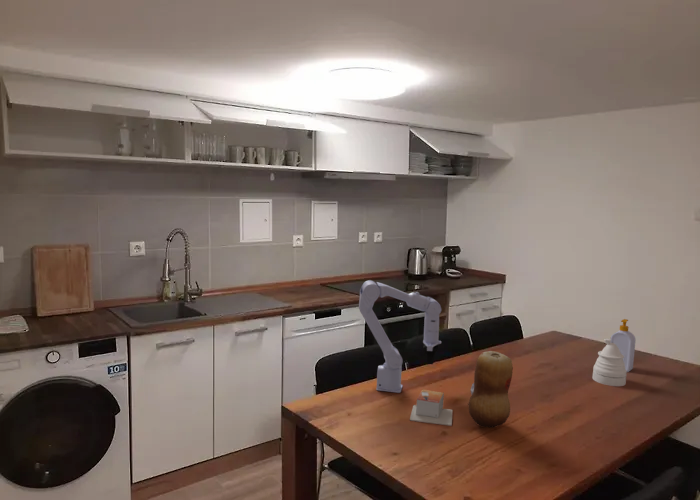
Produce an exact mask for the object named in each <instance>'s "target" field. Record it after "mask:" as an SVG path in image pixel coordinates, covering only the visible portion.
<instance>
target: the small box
mask: <svg viewBox="0 0 700 500" xmlns="http://www.w3.org/2000/svg"><path fill="white" fill-rule="evenodd" d="M444 394H445V393H444V392H441V391H433V390H428V389H422V390H421V391H420V393H419V395H418V396H417V399H416V405H417V406H416V415H423V416H429V417H435V418H439V416H440V413H441V411H442V409H444V396H445V395H444Z"/></svg>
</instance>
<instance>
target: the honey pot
mask: <svg viewBox="0 0 700 500" xmlns="http://www.w3.org/2000/svg"><path fill="white" fill-rule="evenodd" d="M603 340H604V343H605V344H606V345H605V346H604V347H603V348H602V350H599V351H598V352H597V355H598V357H597V358H596V361H595V364H594V365H593V366H592V367H593V369H592V370H593V371H592V380H593V381H595V382H596V383H598V384H600V385H601V384H602V385H605V386H606V385H607V386H611V387H623V386H625V385H626V382H627V373H628V372H627V371H626V369H625V363H624V361H623V358H624V356H623V355H622V354H621V352H620V350H619V348H618V347H617V345H616V344H614V343H610V342H611V339H610V338H603Z"/></svg>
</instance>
